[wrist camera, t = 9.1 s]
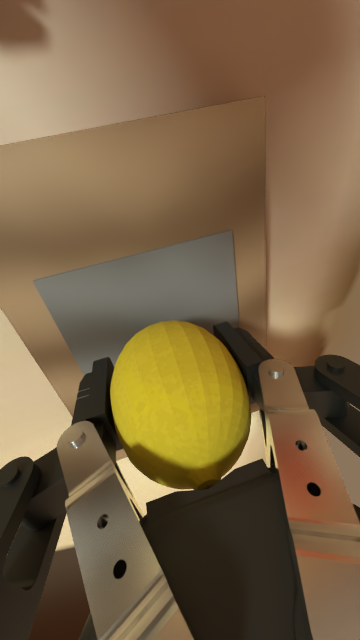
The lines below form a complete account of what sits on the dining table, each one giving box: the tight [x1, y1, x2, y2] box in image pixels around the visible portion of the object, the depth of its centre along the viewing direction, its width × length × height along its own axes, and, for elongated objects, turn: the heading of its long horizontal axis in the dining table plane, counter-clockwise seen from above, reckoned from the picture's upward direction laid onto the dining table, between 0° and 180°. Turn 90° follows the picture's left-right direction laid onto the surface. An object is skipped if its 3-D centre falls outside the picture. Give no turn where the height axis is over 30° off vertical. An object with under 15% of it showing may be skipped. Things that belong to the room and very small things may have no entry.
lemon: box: [110, 320, 251, 490], centre depth 10 cm, size 6×6×8 cm
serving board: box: [0, 96, 266, 461], centre depth 14 cm, size 20×14×2 cm
